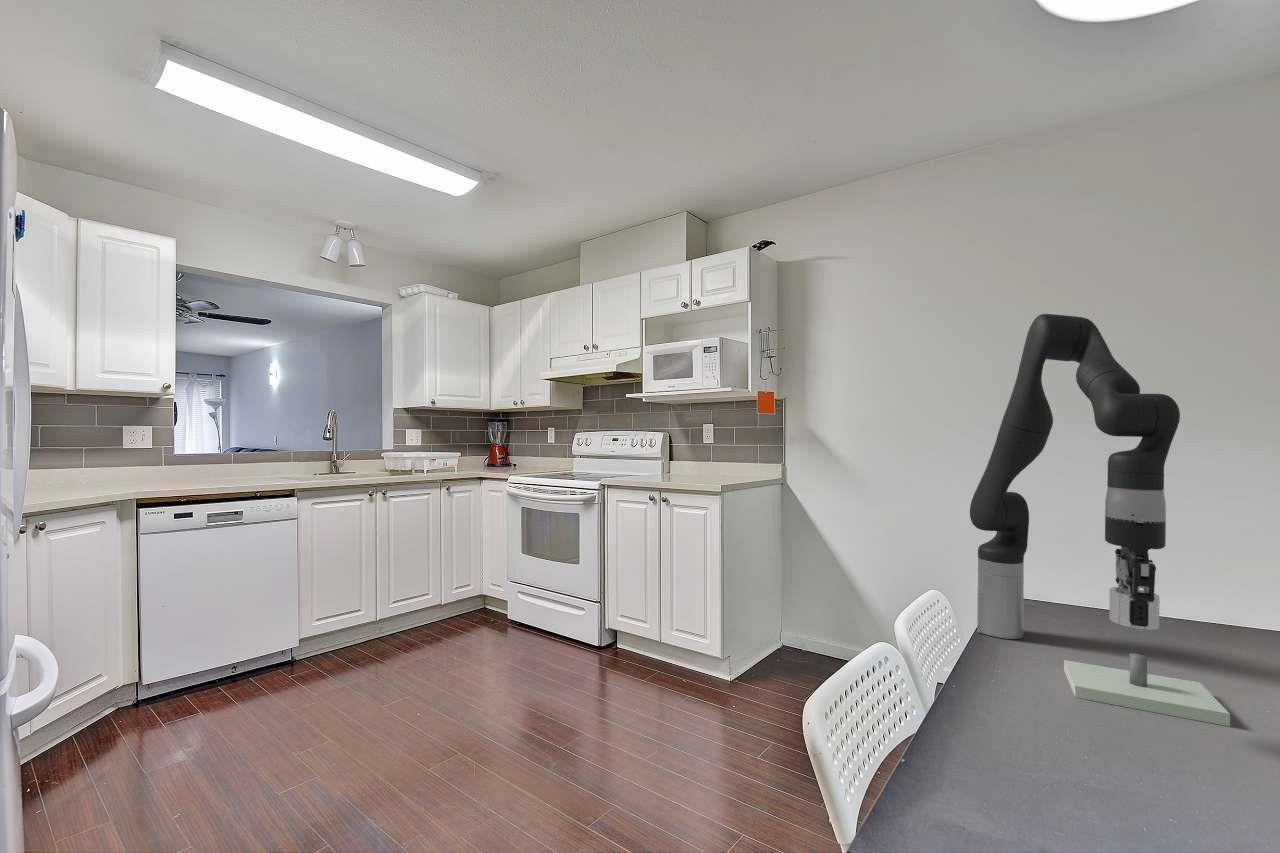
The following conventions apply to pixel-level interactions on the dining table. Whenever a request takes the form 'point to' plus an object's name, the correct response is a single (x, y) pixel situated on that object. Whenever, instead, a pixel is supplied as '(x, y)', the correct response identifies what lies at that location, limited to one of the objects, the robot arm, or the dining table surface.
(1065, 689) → the dining table surface
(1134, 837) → the dining table surface
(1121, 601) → the cylinder
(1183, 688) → the post base
